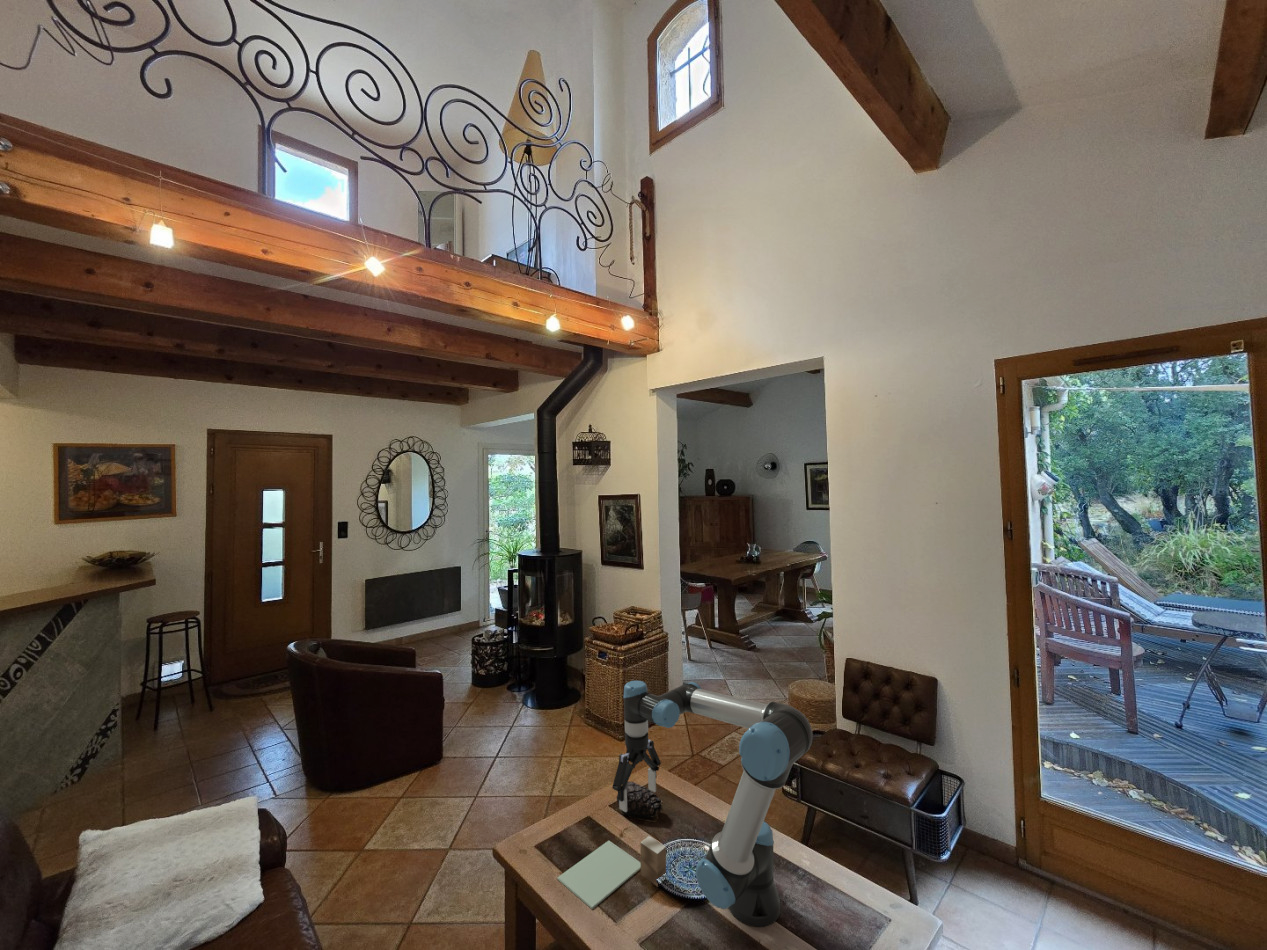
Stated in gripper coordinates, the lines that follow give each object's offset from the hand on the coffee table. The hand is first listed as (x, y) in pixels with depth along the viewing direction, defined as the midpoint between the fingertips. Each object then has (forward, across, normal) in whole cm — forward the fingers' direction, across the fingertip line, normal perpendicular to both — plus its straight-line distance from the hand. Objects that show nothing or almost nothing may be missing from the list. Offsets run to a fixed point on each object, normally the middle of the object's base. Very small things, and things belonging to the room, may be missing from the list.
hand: (638, 799), depth 160 cm
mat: (+21, +10, -8) cm, 24 cm away
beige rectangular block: (+22, 0, +5) cm, 22 cm away
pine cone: (+21, -20, -18) cm, 35 cm away
